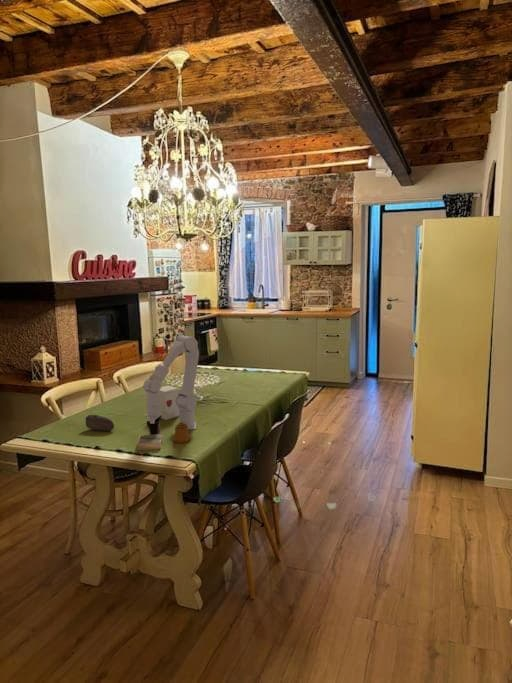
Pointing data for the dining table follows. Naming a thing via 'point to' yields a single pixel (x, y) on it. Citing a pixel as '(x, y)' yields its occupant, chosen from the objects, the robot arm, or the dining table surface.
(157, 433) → the walnut block
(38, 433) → the dining table surface
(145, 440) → the wooden framed grey panel
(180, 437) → the ornamental finial
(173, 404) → the supplement box
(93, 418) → the perforated stone tool
